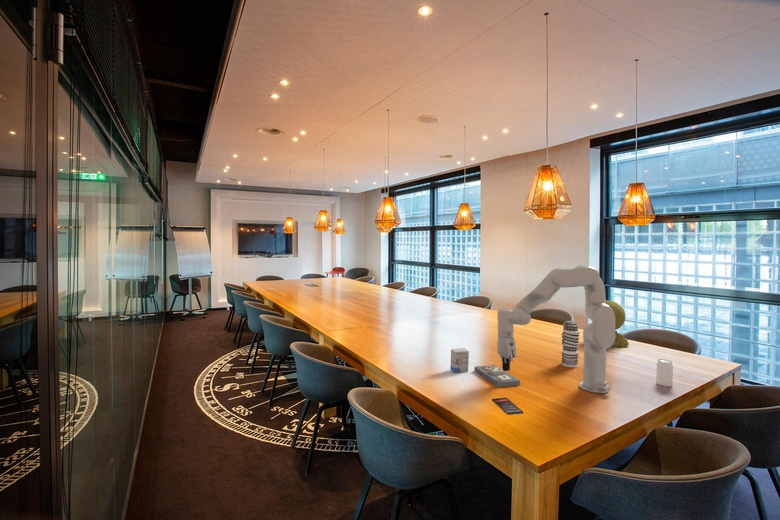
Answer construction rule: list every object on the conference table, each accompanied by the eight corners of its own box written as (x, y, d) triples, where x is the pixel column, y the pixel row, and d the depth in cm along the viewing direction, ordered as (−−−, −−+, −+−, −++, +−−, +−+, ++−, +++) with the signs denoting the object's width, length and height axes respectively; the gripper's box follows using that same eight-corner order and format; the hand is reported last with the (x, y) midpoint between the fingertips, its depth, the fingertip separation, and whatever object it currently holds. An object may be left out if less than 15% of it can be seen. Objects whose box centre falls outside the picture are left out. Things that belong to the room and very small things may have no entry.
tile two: (503, 375, 194) (503, 369, 194) (494, 376, 192) (494, 370, 192) (497, 371, 199) (497, 366, 198) (489, 372, 197) (489, 367, 197)
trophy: (582, 338, 275) (583, 297, 274) (613, 339, 274) (614, 298, 273) (598, 347, 253) (599, 303, 251) (631, 347, 252) (633, 303, 250)
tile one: (511, 383, 187) (511, 378, 186) (502, 384, 185) (502, 379, 185) (505, 379, 192) (505, 374, 191) (496, 380, 190) (496, 375, 190)
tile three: (495, 373, 201) (495, 368, 201) (486, 373, 200) (486, 369, 199) (490, 369, 206) (490, 365, 206) (481, 370, 205) (481, 365, 204)
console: (520, 385, 186) (520, 380, 186) (498, 387, 182) (498, 382, 182) (493, 369, 209) (494, 364, 209) (474, 370, 205) (474, 366, 205)
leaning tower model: (580, 368, 211) (582, 324, 210) (563, 366, 213) (564, 323, 211) (576, 362, 220) (577, 320, 219) (559, 361, 222) (560, 319, 220)
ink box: (454, 373, 202) (454, 351, 201) (450, 370, 206) (450, 348, 206) (468, 371, 204) (469, 350, 203) (464, 368, 209) (464, 347, 208)
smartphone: (506, 397, 170) (524, 412, 155) (506, 399, 170) (524, 414, 155) (491, 398, 169) (507, 414, 154) (491, 400, 169) (507, 415, 154)
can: (656, 381, 192) (657, 357, 191) (672, 384, 188) (673, 360, 187) (655, 384, 187) (656, 361, 186) (671, 388, 183) (672, 363, 182)
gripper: (521, 336, 181) (521, 374, 182) (503, 330, 195) (504, 364, 196) (507, 338, 179) (508, 376, 180) (491, 331, 193) (491, 366, 194)
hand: (506, 370), depth 188 cm, fingers closed
